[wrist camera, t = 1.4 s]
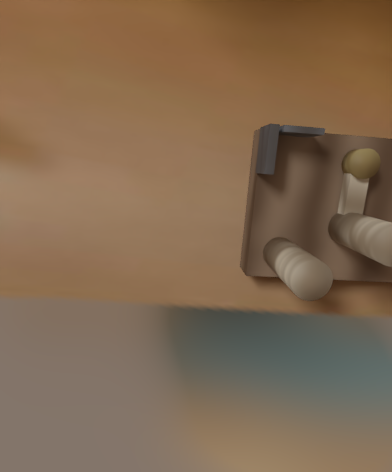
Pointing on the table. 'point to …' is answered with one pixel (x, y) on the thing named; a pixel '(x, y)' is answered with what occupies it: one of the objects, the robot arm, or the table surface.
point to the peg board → (308, 208)
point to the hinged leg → (360, 210)
